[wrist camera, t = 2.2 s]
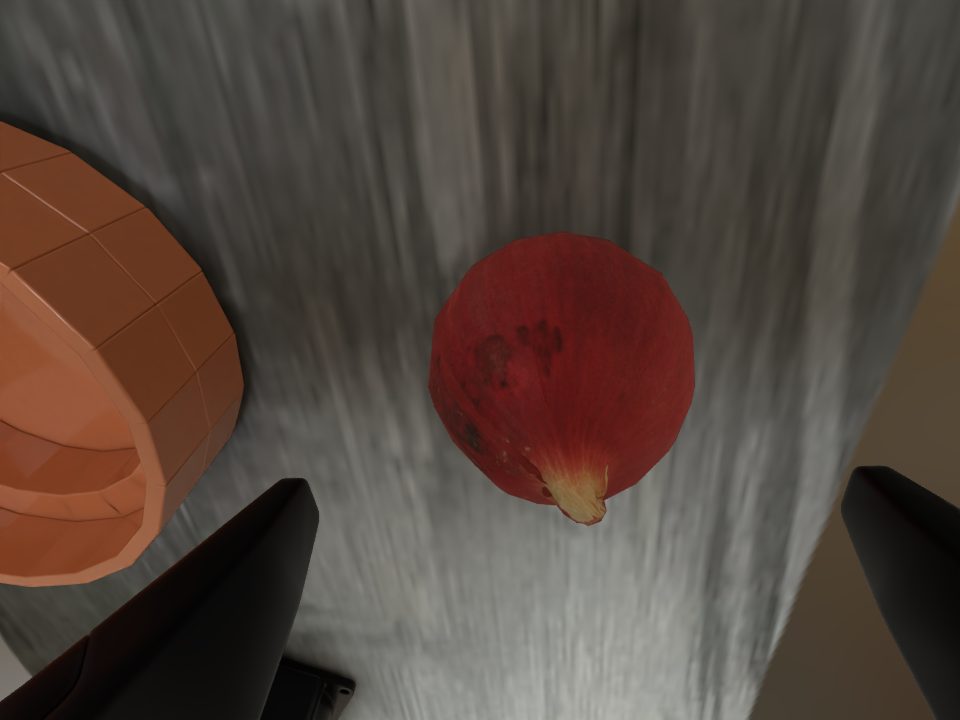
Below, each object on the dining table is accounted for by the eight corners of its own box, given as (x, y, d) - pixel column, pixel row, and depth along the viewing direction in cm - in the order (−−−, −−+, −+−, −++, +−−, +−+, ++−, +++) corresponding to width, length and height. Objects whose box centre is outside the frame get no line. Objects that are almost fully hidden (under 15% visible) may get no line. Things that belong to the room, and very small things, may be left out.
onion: (443, 364, 17) (384, 591, 10) (462, 178, 14) (392, 327, 7) (626, 390, 17) (689, 638, 10) (685, 211, 14) (835, 392, 7)
